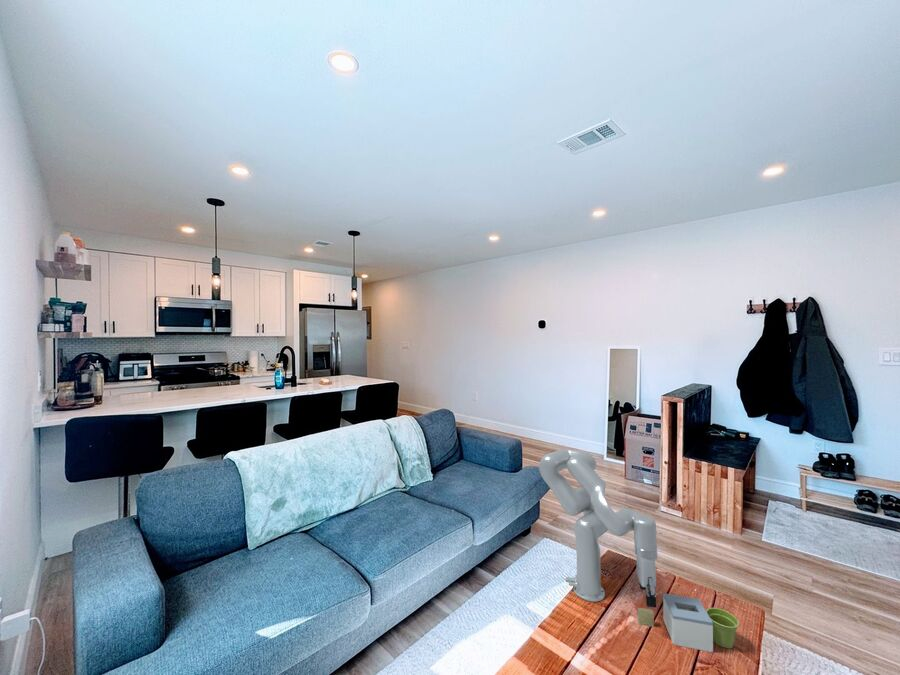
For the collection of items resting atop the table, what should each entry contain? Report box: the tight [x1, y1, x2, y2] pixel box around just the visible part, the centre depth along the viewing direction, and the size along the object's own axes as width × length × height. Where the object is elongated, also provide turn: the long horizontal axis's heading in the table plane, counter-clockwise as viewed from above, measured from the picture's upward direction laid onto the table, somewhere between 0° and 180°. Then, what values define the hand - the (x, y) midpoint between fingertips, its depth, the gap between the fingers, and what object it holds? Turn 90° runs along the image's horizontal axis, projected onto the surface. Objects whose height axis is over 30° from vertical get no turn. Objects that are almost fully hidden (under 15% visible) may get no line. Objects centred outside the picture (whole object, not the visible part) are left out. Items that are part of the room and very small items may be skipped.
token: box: [637, 607, 655, 628], centre depth 138 cm, size 5×2×5 cm, turn 74°
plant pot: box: [705, 607, 740, 649], centre depth 130 cm, size 9×9×9 cm
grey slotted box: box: [662, 593, 714, 653], centre depth 132 cm, size 12×12×10 cm
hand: (647, 597), depth 137 cm, fingers open, 9 cm apart
